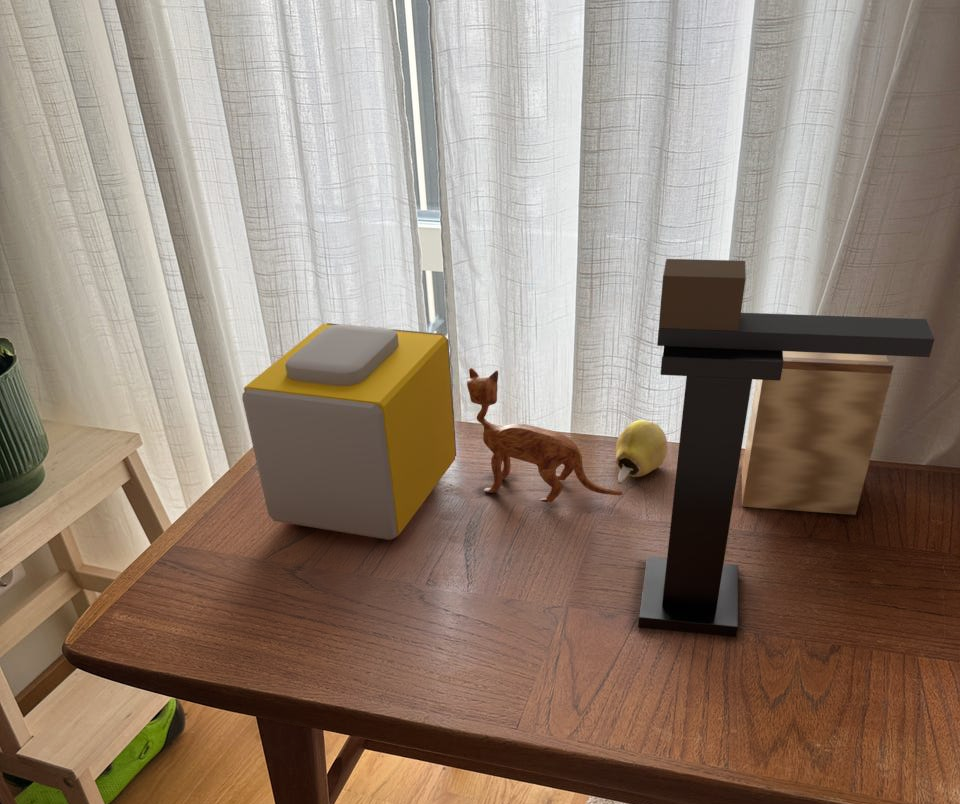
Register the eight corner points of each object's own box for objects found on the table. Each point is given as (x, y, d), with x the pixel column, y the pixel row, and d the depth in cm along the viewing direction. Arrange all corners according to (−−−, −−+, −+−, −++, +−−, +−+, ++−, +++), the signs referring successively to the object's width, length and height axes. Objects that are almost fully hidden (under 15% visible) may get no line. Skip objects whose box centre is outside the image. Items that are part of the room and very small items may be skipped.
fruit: (594, 486, 106) (621, 437, 112) (641, 507, 106) (666, 456, 111) (607, 449, 102) (636, 400, 108) (657, 471, 101) (683, 420, 107)
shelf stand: (736, 574, 92) (779, 317, 75) (736, 637, 84) (784, 367, 68) (646, 566, 94) (668, 313, 77) (638, 627, 86) (661, 361, 70)
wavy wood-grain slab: (849, 478, 105) (884, 334, 94) (855, 515, 99) (894, 366, 88) (741, 470, 107) (763, 330, 97) (741, 506, 102) (765, 360, 91)
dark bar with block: (921, 336, 71) (941, 265, 68) (929, 357, 68) (950, 283, 65) (660, 326, 75) (666, 258, 71) (657, 346, 72) (662, 275, 68)
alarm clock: (342, 453, 115) (319, 306, 103) (460, 469, 111) (451, 317, 99) (264, 536, 101) (227, 378, 89) (396, 559, 97) (375, 395, 85)
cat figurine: (628, 488, 105) (636, 375, 97) (615, 518, 101) (622, 402, 92) (481, 468, 111) (476, 358, 102) (462, 495, 106) (455, 383, 97)
